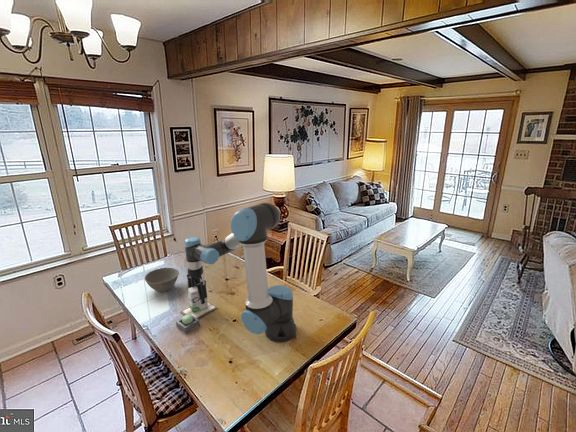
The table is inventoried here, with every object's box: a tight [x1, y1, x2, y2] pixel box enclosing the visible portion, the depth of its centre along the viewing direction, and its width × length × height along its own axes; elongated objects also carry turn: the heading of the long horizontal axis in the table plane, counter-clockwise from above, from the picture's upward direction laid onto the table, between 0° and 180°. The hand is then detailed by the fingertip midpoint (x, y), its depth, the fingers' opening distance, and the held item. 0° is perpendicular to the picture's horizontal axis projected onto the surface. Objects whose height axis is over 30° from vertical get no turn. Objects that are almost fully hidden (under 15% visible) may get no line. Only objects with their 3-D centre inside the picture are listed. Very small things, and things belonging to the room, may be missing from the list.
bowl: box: [144, 267, 180, 292], centre depth 178 cm, size 19×19×10 cm
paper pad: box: [180, 301, 218, 320], centre depth 160 cm, size 12×15×1 cm
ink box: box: [187, 286, 209, 312], centre depth 157 cm, size 8×5×12 cm, turn 125°
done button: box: [181, 315, 193, 326], centre depth 147 cm, size 5×5×3 cm
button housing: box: [175, 314, 201, 334], centre depth 147 cm, size 8×8×3 cm
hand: (198, 306), depth 159 cm, fingers closed on ink box, 6 cm apart
